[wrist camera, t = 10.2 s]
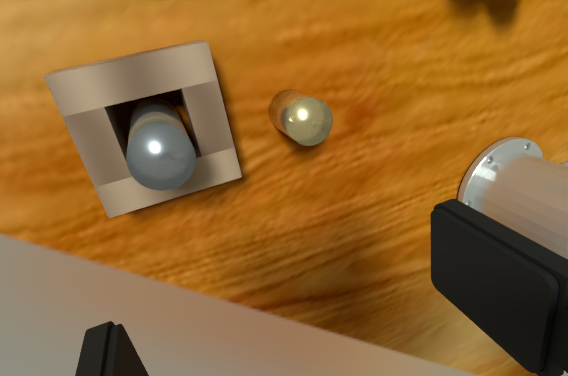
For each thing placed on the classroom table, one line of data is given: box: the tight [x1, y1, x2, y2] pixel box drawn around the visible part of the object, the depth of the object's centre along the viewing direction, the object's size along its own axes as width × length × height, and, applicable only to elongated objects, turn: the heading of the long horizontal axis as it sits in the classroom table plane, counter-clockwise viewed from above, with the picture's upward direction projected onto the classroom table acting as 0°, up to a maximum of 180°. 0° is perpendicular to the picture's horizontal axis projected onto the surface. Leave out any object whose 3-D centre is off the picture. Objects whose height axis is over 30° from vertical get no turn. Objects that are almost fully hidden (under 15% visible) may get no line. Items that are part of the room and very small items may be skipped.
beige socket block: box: [44, 40, 242, 218], centre depth 27 cm, size 10×10×4 cm
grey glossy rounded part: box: [269, 90, 333, 146], centre depth 30 cm, size 4×4×5 cm
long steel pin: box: [126, 98, 196, 191], centre depth 24 cm, size 4×4×10 cm
